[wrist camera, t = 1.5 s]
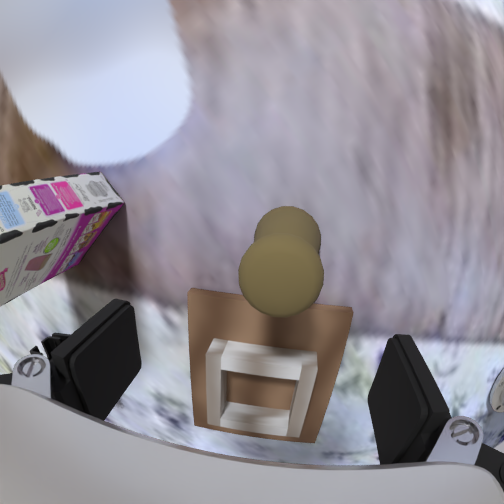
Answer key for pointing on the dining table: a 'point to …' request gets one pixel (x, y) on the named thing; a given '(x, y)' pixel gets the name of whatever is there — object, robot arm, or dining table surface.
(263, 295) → the cork
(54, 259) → the candy bar box
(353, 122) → the dining table surface
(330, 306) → the socket board
